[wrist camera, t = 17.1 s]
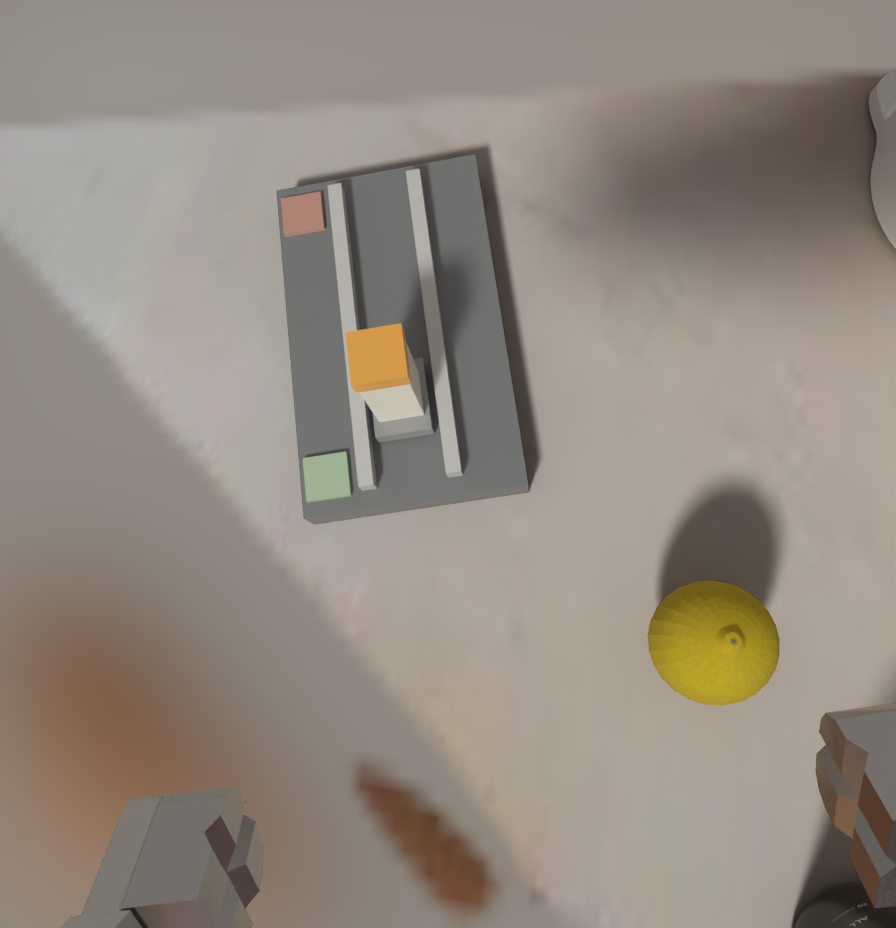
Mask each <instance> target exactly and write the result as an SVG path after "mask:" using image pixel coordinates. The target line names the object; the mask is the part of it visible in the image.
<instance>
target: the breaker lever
mask: <svg viewBox="0 0 896 928" xmlns="http://www.w3.org/2000/svg"><path fill="white" fill-rule="evenodd" d="M346 342H347V352H348V362H349V371H350V381H351V386H352V388H353V389H354V391H355V392H356V393H360V394H361V396H362V397H363V399H364V400H365V402H366V403H367V405H368V406H369V408H370V409H371V411H372V412H373V421H374V430H375V438H376V439H377V441H378V442H379V443H380V442H386V441H393V440H399V439H405V438H412V437H418V436H424V435H431V434H434V428H433V420H432V413H431V405H430V397H429V390H428V382H427V375H426V367H425V363H424V360H423V357H422V358H416V359H413V357H412V355H411V352H410V350H409V347H408V345H407V343H406V337H405V331H404V328H403V326H402V324H401V323H399V324H393V325H387V326H381V327H375V328H369V329H363V330H357V331H351V332H346Z"/></svg>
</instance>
